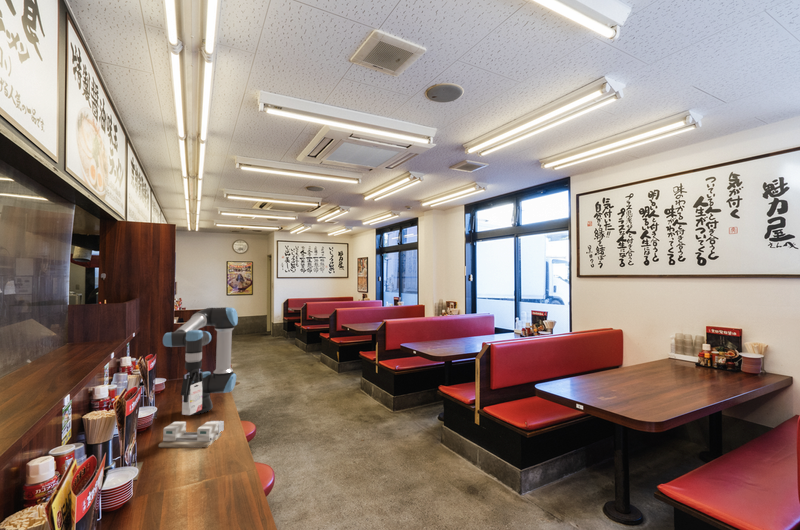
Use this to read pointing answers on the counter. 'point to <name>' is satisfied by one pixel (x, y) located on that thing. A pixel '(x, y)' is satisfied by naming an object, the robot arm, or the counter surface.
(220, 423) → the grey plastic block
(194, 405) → the ink cartridge box
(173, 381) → the counter surface
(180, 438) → the mounting board
